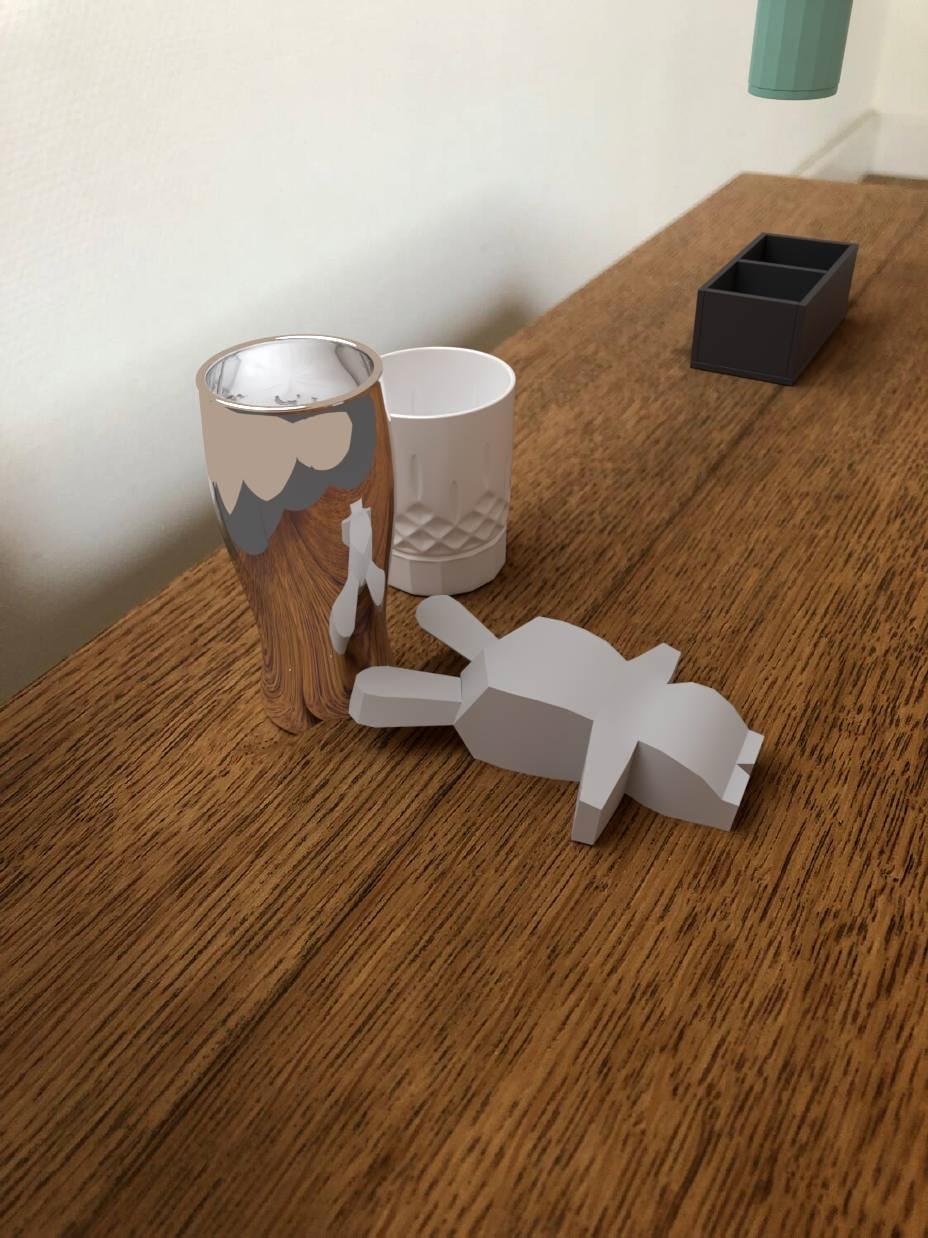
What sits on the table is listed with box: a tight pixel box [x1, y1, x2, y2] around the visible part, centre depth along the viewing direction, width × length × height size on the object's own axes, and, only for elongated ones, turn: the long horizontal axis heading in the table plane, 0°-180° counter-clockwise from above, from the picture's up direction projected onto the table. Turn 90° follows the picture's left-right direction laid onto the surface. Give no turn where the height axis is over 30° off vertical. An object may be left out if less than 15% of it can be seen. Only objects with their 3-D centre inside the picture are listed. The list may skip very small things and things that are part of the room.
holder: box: [689, 231, 860, 387], centre depth 73 cm, size 7×14×6 cm, turn 150°
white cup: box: [379, 346, 517, 597], centre depth 50 cm, size 8×8×10 cm
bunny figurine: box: [349, 595, 765, 846], centre depth 40 cm, size 10×5×15 cm
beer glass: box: [194, 333, 399, 736], centre depth 40 cm, size 7×7×15 cm
